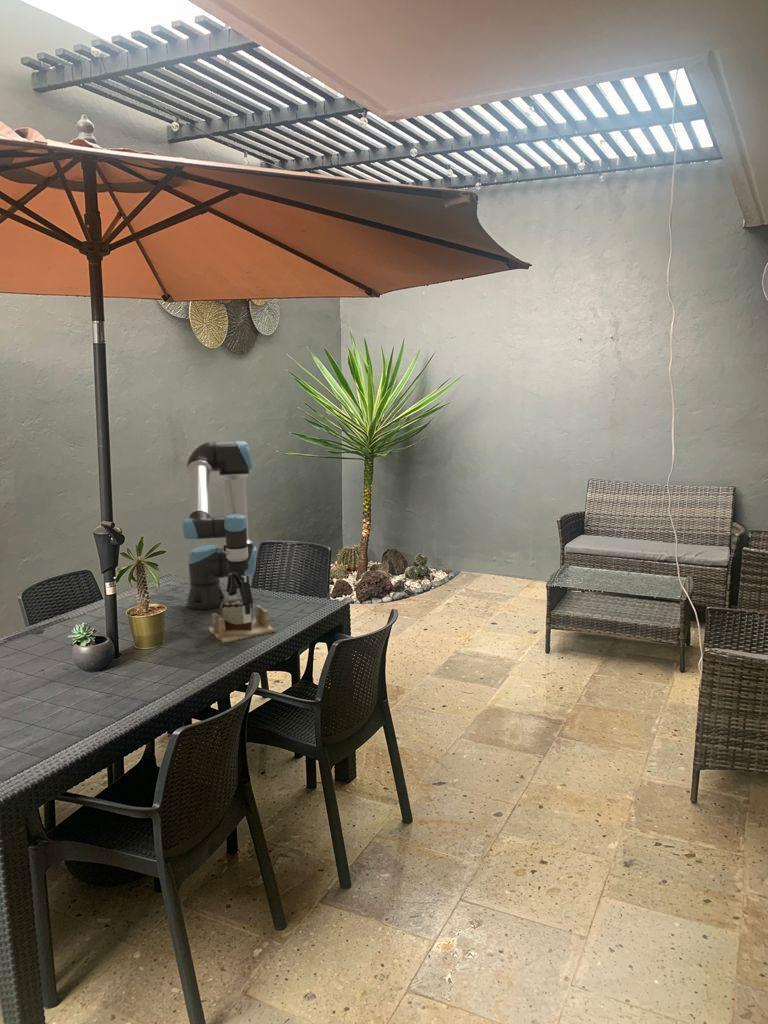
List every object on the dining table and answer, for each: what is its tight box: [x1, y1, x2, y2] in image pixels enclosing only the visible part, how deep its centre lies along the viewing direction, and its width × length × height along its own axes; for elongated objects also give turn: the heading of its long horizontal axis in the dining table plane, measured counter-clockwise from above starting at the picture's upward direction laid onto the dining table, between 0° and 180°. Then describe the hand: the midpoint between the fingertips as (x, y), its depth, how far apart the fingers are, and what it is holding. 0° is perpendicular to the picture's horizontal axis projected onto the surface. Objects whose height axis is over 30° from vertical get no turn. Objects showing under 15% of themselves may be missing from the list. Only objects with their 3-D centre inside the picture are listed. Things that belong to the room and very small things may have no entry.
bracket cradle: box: [207, 604, 276, 644], centre depth 260 cm, size 16×19×7 cm
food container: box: [219, 598, 256, 631], centre depth 261 cm, size 12×6×10 cm, turn 86°
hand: (240, 617), depth 260 cm, fingers open, 12 cm apart
